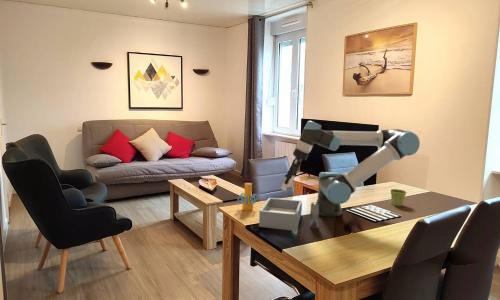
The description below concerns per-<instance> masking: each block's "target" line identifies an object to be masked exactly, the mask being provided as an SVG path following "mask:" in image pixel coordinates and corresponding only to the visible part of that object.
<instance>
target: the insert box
mask: <svg viewBox="0 0 500 300" xmlns="http://www.w3.org/2000/svg"><path fill="white" fill-rule="evenodd" d="M302 210H303V201H302V200H298V199H297V200H296V199H287V198H277V197H275V198H274V197H268V198H267V200H266V201H265V202H264V203H263V206H262V207H261V208H260V209H259V213H258V214H259V220H258V221H259V222H258V227H259V228H269V229H278V230H286V231H292V232H293V231H294V232H296V231H297V230H298V226H299V224H300V220H301V218H302ZM300 217H301V218H300Z"/></svg>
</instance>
